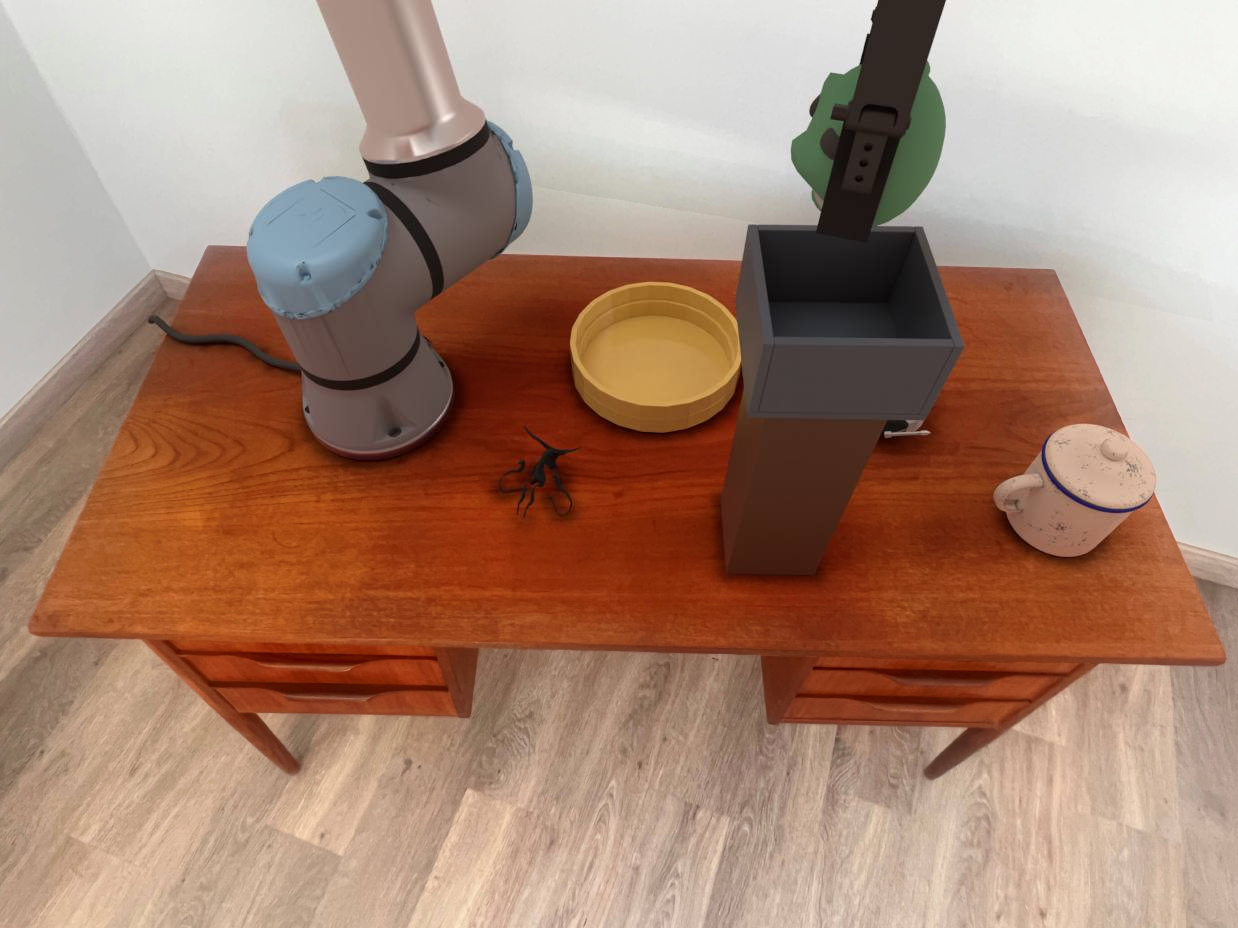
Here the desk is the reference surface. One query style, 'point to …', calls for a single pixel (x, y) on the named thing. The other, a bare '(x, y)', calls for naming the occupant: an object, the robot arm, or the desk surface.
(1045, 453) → the teacup with lid
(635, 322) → the bowl
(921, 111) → the alien toy
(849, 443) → the bin
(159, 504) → the desk surface
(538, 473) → the creature
